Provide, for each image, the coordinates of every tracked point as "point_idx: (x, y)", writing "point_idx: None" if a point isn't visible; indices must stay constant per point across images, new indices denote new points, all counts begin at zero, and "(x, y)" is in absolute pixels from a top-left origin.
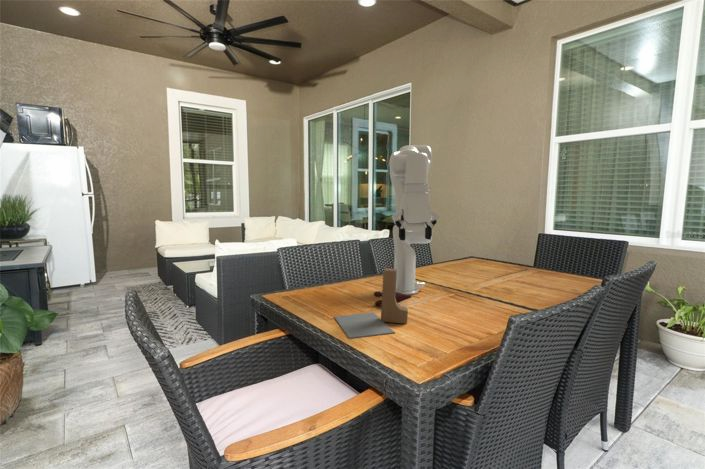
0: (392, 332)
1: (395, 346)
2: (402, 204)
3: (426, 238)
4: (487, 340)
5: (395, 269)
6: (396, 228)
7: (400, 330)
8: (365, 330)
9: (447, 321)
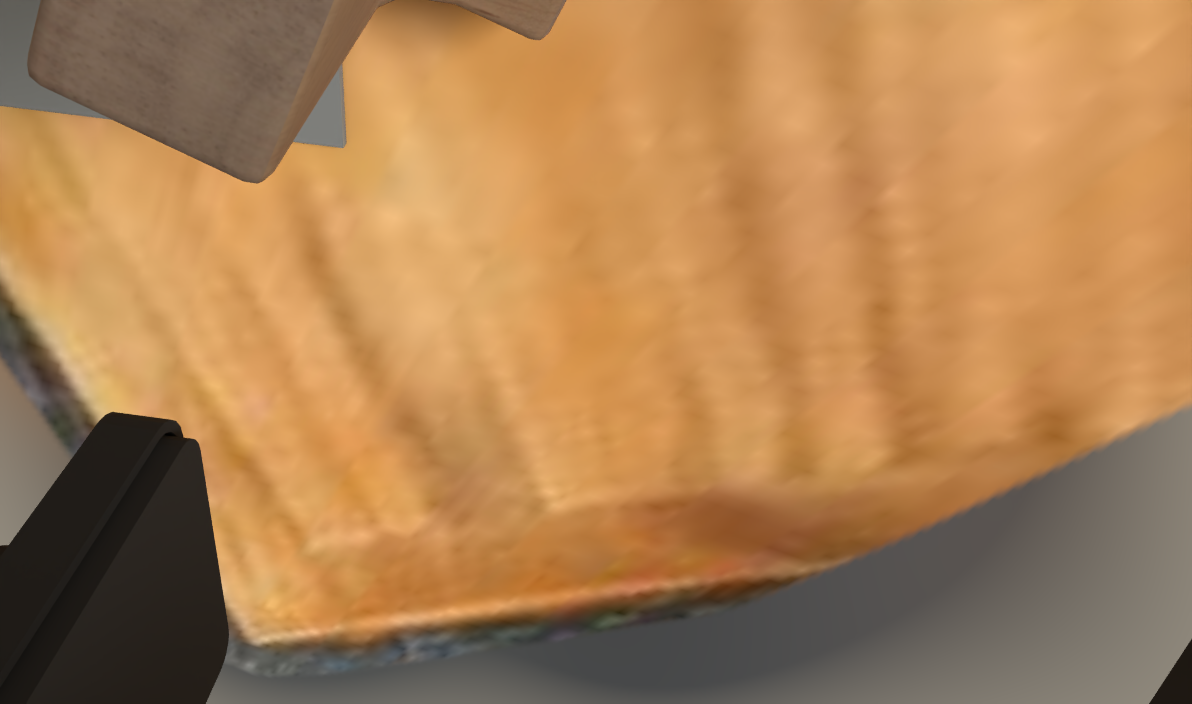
0: (323, 145)
1: (270, 334)
2: None
3: (1184, 659)
4: (926, 489)
5: (290, 53)
6: None
7: (422, 106)
8: None
9: (986, 90)
